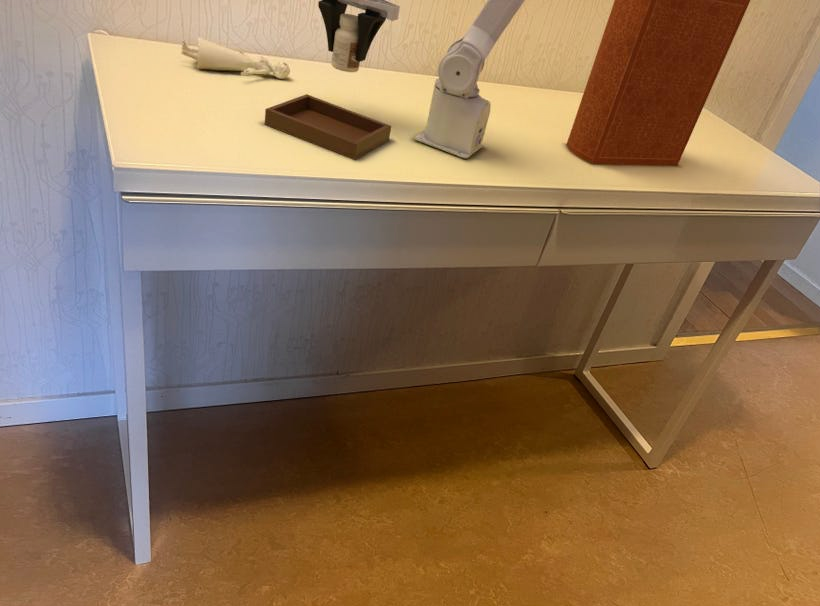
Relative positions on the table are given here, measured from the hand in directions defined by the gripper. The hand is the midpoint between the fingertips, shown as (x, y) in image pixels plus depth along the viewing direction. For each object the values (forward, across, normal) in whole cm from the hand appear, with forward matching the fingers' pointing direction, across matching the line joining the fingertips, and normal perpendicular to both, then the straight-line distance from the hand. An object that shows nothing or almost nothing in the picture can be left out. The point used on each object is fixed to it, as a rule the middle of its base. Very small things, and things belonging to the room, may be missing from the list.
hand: (346, 55), depth 110 cm
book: (+10, +44, +30) cm, 55 cm away
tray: (+9, +3, -9) cm, 13 cm away
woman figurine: (+10, -21, +2) cm, 23 cm away
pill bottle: (+2, 0, 0) cm, 2 cm away
